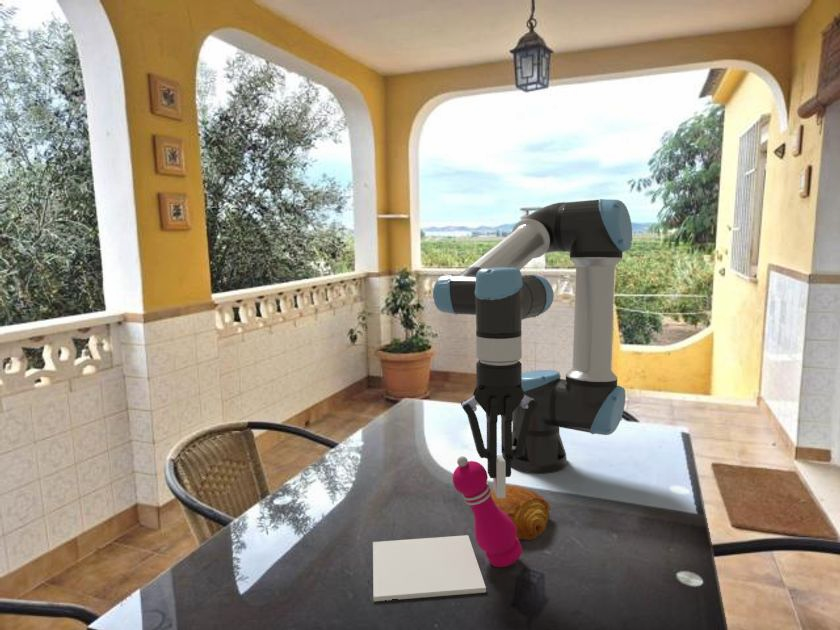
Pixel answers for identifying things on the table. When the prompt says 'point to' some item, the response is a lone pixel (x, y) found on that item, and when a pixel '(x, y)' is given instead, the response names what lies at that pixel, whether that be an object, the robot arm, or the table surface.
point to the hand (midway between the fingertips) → (499, 494)
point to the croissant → (524, 511)
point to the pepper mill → (487, 515)
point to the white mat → (425, 568)
